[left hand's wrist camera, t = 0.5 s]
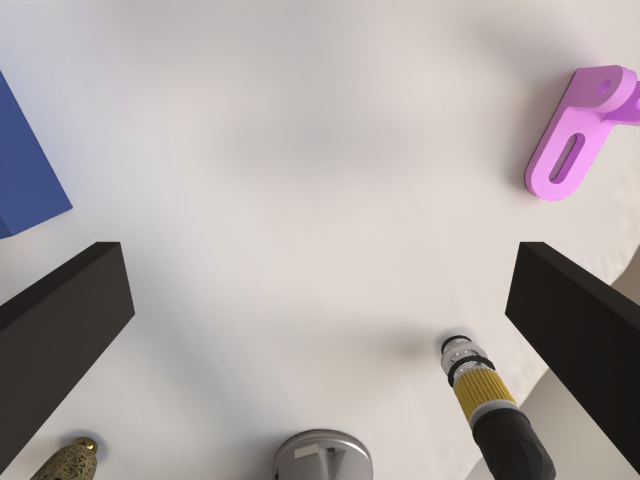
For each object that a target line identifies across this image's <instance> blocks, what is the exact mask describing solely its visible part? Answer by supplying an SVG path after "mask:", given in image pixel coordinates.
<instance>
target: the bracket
mask: <svg viewBox="0 0 640 480" xmlns="http://www.w3.org/2000/svg"><path fill="white" fill-rule="evenodd" d="M617 124H623V125H633V126H640V81H637V75H636V73H635V72H634V71H632V70H629V69H627V68H624V67H621V66H619V65H611V66H601V67H590V68H580V69H577V71H576V73H575V75H574V77H573V79H572V81H571V83H570V85H569V87H568V89H567V91H566V93H565V95H564V97H563V99H562V101H561V102H560V104H559V106H558V108H557V110H556V112H555V114H554V116H553V118H552V120H551V122H550V124H549V126H548V128H547V130H546V132H545V134H544V136H543V137H542V139H541V141H540V143H539V145H538V147H537V149H536V151H535V153H534V155H533V157H532V159H531V161H530V163H529V165H528V167H527V169H526V173H525V183H526V186H527V188H528V190H529V191H530V192H531V193H532V194H534V195H535V196H538V197H540V198H542V199H544V200H548V201H556V200H560V199H563V198H565V197H567V196H569V195H570V194H572V193H573V192H574V191H575V190H576V189H577V188H578V186H579V185H580V183H581V182H582V180H583V178H584V176H585V175H586V173H587V171H588V169H589V168H590V166H591V164H592V162H593V161H594V159H595V157H596V156H597V154H598V152H599V150H600V149H601V147H602V145H603V143H604V142H605V140H606V138H607V136H608V135H609V133H610V131H611V130H612V128H613V127H614V126H615V125H617ZM573 134H576V136H577V141H576V143H575V145H574V147H573V149H572V151H571V152H570V154H569V156H568V158H567V160H566V162H565V163H564V165H563V167H562V169H561V171H560V172H559V174H558V176H557V177H556V178H555V179H554V180H553V181H550V180H549V175H550V173H551V171H552V169H553V167H554V165H555V163H556V161H557V160H558V158H559V156H560V154H561V152H562V150H563V148H564V147H565V145H566V143H567V141H568V139H569V138H570V137H571V136H572V135H573Z"/></svg>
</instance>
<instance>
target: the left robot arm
mask: <svg viewBox="0 0 640 480" xmlns="http://www.w3.org/2000/svg"><path fill="white" fill-rule="evenodd" d="M134 315H135V311H134V306H133V301H132V296H131V292H130V287H129V282H128V278H127V273H126V268H125V263H124V259H123V254H122V249H121V245H120V242H96V243H94V244H93V245H91V246H90V247H88V248H87V249H85V250H84V251H82V252H81V253H79V254H78V255H76V256H75V257H73V258H72V259H70V260H69V261H67V262H66V263H64V264H63V265H61V266H60V267H58V268H57V269H55V270H54V271H52V272H51V273H49V274H48V275H46V276H45V277H43V278H42V279H40V280H39V281H37V282H36V283H34V284H33V285H31V286H30V287H28V288H27V289H25V290H24V291H22V292H21V293H19V294H18V295H16V296H15V297H13V298H12V299H10V300H9V301H7V302H6V303H4V304H3V305H1V306H0V475H1V474H2V473H3V471H4V470H5V469H6V468H7V467H8V465H9V464H10V463H11V462H12V461H13V459H14V458H15V457H16V456H17V455H18V454H19V452H20V451H21V450H22V449H23V448H24V446H25V445H26V444H27V443H28V442H29V440H30V439H31V438H32V437H33V436H34V434H35V433H36V432H37V431H38V430H39V428H40V427H41V426H42V425H43V424H44V422H45V421H46V420H47V419H48V418H49V416H50V415H51V414H52V413H53V412H54V410H55V409H56V408H57V407H58V406H59V404H60V403H61V402H62V401H63V400H64V398H65V397H66V396H67V395H68V394H69V393H70V391H71V390H72V389H73V388H74V387H75V385H76V384H77V383H78V382H79V381H80V379H81V378H82V377H83V376H84V375H85V373H86V372H87V371H88V370H89V369H90V367H91V366H92V365H93V364H94V363H95V361H96V360H97V359H98V358H99V357H100V355H101V354H102V353H103V352H104V351H105V349H106V348H107V347H108V346H109V345H110V343H111V342H112V341H113V340H114V339H115V338H116V336H117V335H118V334H119V333H120V332H121V330H122V329H123V328H124V327H125V326H126V324H127V323H128V322H129V321H130V320H131V318H132V317H133V316H134ZM505 315H506V316H507V317H508V318H509V320H510V321H511V322H512V323H513V324H514V326H515V327H516V328H517V329H518V330H519V332H520V333H521V334H522V335H523V336H524V338H525V339H526V340H527V341H528V342H529V343H530V345H531V346H532V347H533V348H534V349H535V351H536V352H537V353H538V354H539V355H540V357H541V358H542V359H543V360H544V361H545V363H546V364H547V365H548V366H549V367H550V369H551V370H552V371H553V372H554V373H555V375H556V376H557V377H558V378H559V379H560V381H561V382H562V383H563V384H564V385H565V386H566V388H567V389H568V390H569V391H570V392H571V394H572V395H573V396H574V397H575V398H576V400H577V401H578V402H579V403H580V404H581V406H582V407H583V408H584V409H585V410H586V412H587V413H588V414H589V415H590V416H591V418H592V419H593V420H594V421H595V422H596V424H597V425H598V426H599V427H600V428H601V430H602V431H603V432H604V433H605V434H606V436H607V437H608V438H609V439H610V440H611V442H612V443H613V444H614V445H615V446H616V447H617V449H618V450H619V451H620V452H621V454H622V455H623V456H624V457H625V458H626V459H627V461H628V462H629V463H630V464H631V465H632V467H633V468H634V469H635V470H636V471H637V473H638V474H639V475H640V306H639V305H637V304H636V303H634V302H633V301H631V300H630V299H628V298H627V297H625V296H624V295H622V294H621V293H619V292H618V291H616V290H615V289H613V288H612V287H610V286H609V285H607V284H606V283H604V282H603V281H601V280H600V279H598V278H597V277H595V276H594V275H592V274H591V273H589V272H588V271H586V270H585V269H583V268H582V267H580V266H579V265H577V264H576V263H574V262H573V261H571V260H570V259H568V258H567V257H565V256H564V255H562V254H561V253H559V252H558V251H556V250H555V249H553V248H552V247H550V246H549V245H547V244H546V243H544V242H520V245H519V249H518V254H517V259H516V263H515V268H514V273H513V278H512V282H511V287H510V292H509V296H508V301H507V306H506V311H505Z"/></svg>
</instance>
